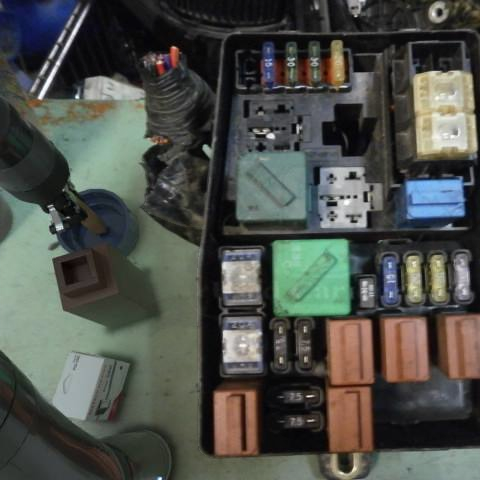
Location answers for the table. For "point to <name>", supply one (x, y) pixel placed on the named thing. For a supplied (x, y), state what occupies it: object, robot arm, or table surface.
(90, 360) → the ink box
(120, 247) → the bowl
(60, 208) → the robot arm
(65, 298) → the stand
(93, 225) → the stirring stick
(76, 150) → the table surface
